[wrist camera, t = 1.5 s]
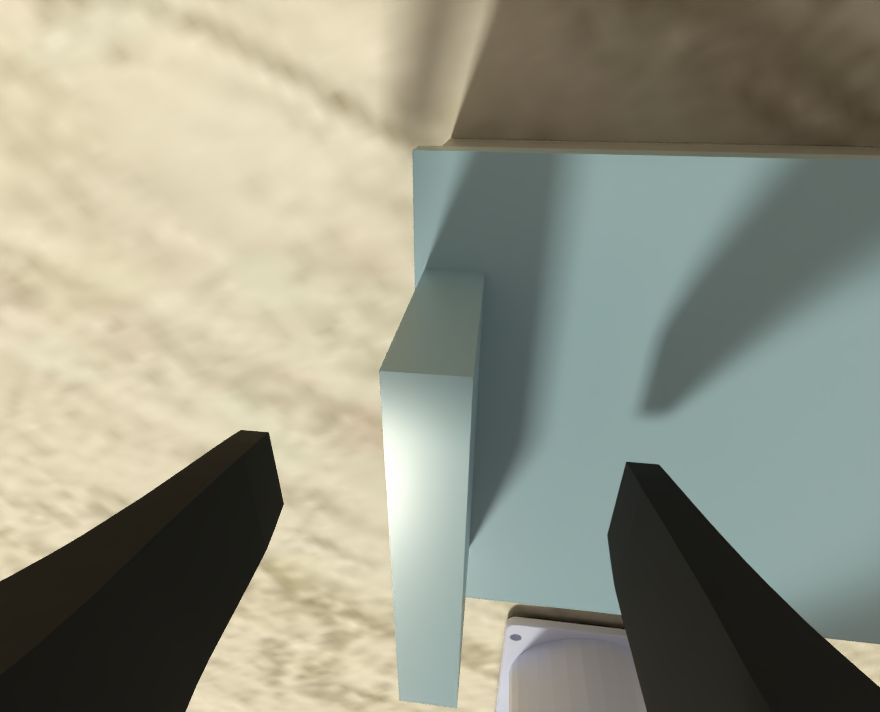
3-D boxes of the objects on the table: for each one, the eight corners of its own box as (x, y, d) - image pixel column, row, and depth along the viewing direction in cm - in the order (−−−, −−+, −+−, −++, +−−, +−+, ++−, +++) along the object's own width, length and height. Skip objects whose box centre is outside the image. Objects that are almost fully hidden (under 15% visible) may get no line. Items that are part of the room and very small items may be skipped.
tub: (1013, 525, 17) (1147, 639, 13) (444, 475, 19) (430, 563, 15) (1323, 156, 11) (1705, 186, 7) (450, 139, 13) (430, 156, 9)
